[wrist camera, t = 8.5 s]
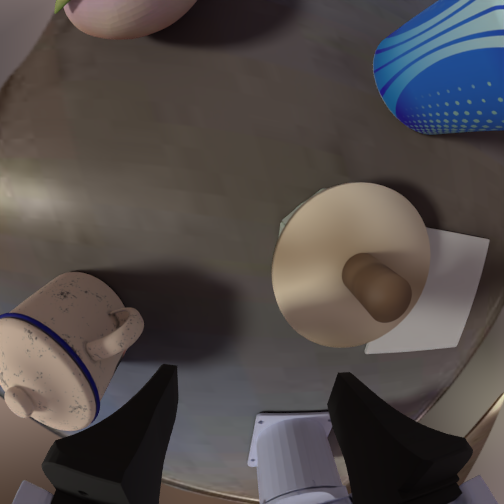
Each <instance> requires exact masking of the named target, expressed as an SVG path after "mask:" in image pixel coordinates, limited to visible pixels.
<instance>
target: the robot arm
mask: <svg viewBox="0 0 504 504" xmlns="http://www.w3.org/2000/svg"><path fill="white" fill-rule="evenodd" d="M177 405H178V378H177V366H175V365H167V364H163V365H161V366H160V368H159V369H158V370H157V372H156V373H155V374H154V375H153V376H152V378H151V379H150V380H149V381H148V382H147V383H146V384H145V385H144V386H143V388H142V389H141V390H140V391H139V392H138V393H137V394H136V395H135V396H133V397H132V398H131V399H130V400H129V401H128V402H127V403H126V404H125V405H123V406H122V407H121V408H120V409H118V410H117V411H116V412H114V413H113V414H112V415H110V416H109V417H107V418H105V419H104V420H102V421H101V422H99V423H97V424H96V425H94V426H92V427H90V428H88V429H85V430H83V431H81V432H79V433H76V434H74V435H71V436H68V437H65V438H62V439H59V440H56V441H55V442H54V444H53V445H52V446H51V448H50V450H49V451H48V453H47V455H46V457H45V459H44V461H43V463H42V469H43V471H44V473H45V475H46V476H47V478H48V479H49V480H50V482H51V483H52V484H53V486H54V487H55V488H56V491H55V494H54V495H53V494H51V493H50V492H48V491H47V490H45V489H43V488H40V487H38V486H36V485H34V484H32V483H30V482H28V481H26V480H23V481H22V483H21V486H20V488H19V490H18V492H17V494H16V496H15V498H14V500H13V503H12V504H159V494H160V486H161V478H162V470H163V463H164V459H165V454H166V451H167V447H168V443H169V440H170V436H171V433H172V429H173V425H174V422H175V418H176V412H177ZM327 405H328V410H329V412H313V413H259V414H258V415H257V416H256V420H255V426H254V431H253V436H252V442H251V447H250V452H249V457H248V466H251V467H257V477H258V489H259V500H260V504H498V503H497V501H496V500H495V498H494V496H493V495H492V493H491V491H490V490H489V488H488V487H487V485H486V483H485V482H484V480H483V479H482V477H481V476H480V475H478V476H476V477H474V478H472V479H470V480H468V481H466V482H465V483H463V484H461V485H460V486H458V484H457V483H456V482H458V481H459V477H458V475H457V473H458V472H459V471H460V470H461V469H462V468H463V467H464V465H465V464H466V463H467V462H468V460H469V459H470V458H471V456H472V453H473V449H472V448H471V446H470V445H469V444H468V442H467V441H466V439H465V438H462V437H458V436H454V435H449V434H446V433H443V432H440V431H437V430H434V429H431V428H429V427H427V426H424V425H422V424H420V423H418V422H416V421H414V420H412V419H410V418H409V417H407V416H405V415H403V414H402V413H400V412H399V411H397V410H396V409H394V408H393V407H391V406H390V405H389V404H387V403H386V402H385V401H383V400H382V399H381V398H380V397H378V396H377V395H376V394H375V393H374V392H372V391H371V390H370V389H369V388H368V387H367V386H365V385H364V384H363V383H362V382H361V381H360V380H359V379H357V378H356V377H355V376H354V375H353V374H351V373H350V372H346V373H338V374H337V377H336V380H335V383H334V386H333V389H332V392H331V395H330V398H329V401H328V404H327ZM332 426H333V429H334V432H335V435H336V437H337V440H338V443H339V446H340V448H341V451H342V454H343V456H344V460H345V463H346V467H347V471H348V476H349V481H350V486H351V492H352V493H351V494H349V495H348V492H347V489H346V486H342V482H341V479H340V476H339V473H338V470H337V467H336V463H335V460H334V457H333V454H332V451H331V448H330V444H329V441H328V438H327V437H328V435H329V433H330V431H331V428H332Z"/></svg>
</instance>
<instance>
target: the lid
mask: <svg viewBox="0 0 504 504" xmlns="http://www.w3.org/2000/svg"><path fill="white" fill-rule="evenodd" d="M429 267H430V242H429V237H428V233H427V230H426V227H425V224H424V222H423V220H422V218H421V216H420V215H419V213H418V211H417V210H416V209H415V207H414V206H413V205H412V204H411V203H410V202H409V201H408V200H407V199H406V198H405V197H403V196H402V195H401V194H399V193H398V192H396V191H394V190H392V189H390V188H387V187H385V186H382V185H378V184H373V183H365V182H349V183H343V184H338V185H335V186H332V187H329V188H327V189H324V190H323V191H321V192H319V193H317V194H315V195H314V196H312V197H311V198H310V199H308V200H307V201H306V202H304V203H303V204H302V205H301V206H300V207H299V208H298V209H297V210H296V211H295V213H294V214H293V215H292V216H291V217H290V219H289V220H288V222H287V223H286V225H285V227H284V228H283V230H282V232H281V234H280V236H279V238H278V241H277V244H276V247H275V250H274V254H273V260H272V284H273V289H274V293H275V297H276V300H277V303H278V306H279V308H280V310H281V312H282V314H283V316H284V317H285V319H286V321H287V322H288V323H289V324H290V325H291V327H292V328H293V329H295V330H296V331H297V332H298V333H299V334H300V335H302V336H303V337H305V338H306V339H308V340H310V341H312V342H315V343H317V344H321V345H324V346H329V347H341V348H344V347H354V346H358V345H363V344H366V343H369V342H371V341H374V340H376V339H378V338H380V337H382V336H383V335H385V334H387V333H388V332H390V331H391V330H392V329H394V328H395V327H396V326H397V325H398V324H400V323H401V322H402V321H403V320H404V319H405V318H406V316H407V315H408V314H409V313H410V312H411V310H412V309H413V307H414V306H415V304H416V303H417V301H418V299H419V298H420V296H421V294H422V291H423V289H424V287H425V284H426V281H427V277H428V273H429Z"/></svg>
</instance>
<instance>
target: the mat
mask: <svg viewBox="0 0 504 504" xmlns="http://www.w3.org/2000/svg"><path fill="white" fill-rule="evenodd" d="M426 230H427V233H428V237H429V242H430V267H429V273H428V277H427V281H426V284H425V287H424V289H423V291H422V294H421V296H420V298H419V299H418V301H417V303H416V304H415V306H414V307H413V309H412V310H411V312H410V313H409V314H408V315H407V316H406V318H405V319H404V320H403V321H402V322H401V323H400V324H398V325H397V326H396V327H395V328H394V329H392V330H391V331H390V332H388V333H387V334H385V335H383V336H382V337H380V338H378V339H376V340H374V341H371V342H369V343H367V345H366V348H365V351H364V352H365V353H366V354H375V353H393V352H407V351H419V350H430V349H440V348H449V347H456V346H457V344H458V341H459V339H460V336H461V334H462V331H463V329H464V326H465V323H466V321H467V318H468V315H469V312H470V309H471V306H472V303H473V300H474V297H475V294H476V291H477V288H478V284H479V281H480V277H481V274H482V270H483V266H484V262H485V258H486V254H487V250H488V245H489V241H490V240H489V239H486V238H481V237H476V236H471V235H466V234H460V233H455V232H450V231H445V230H439V229H433V228H428V227H426Z"/></svg>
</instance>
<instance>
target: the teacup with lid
mask: <svg viewBox="0 0 504 504" xmlns="http://www.w3.org/2000/svg"><path fill="white" fill-rule="evenodd" d="M143 328H144V321H143V319H142V317H141V315H140V313H139V312H138V311H137V310H136V309H135V308H131V307H127V308H125V306H124V305H123V303H122V301H121V300H120V298H119V297H118V296H117V295H116V293H115V292H114V291H113V290H112V289H111V288H110V287H109V286H108V285H106V284H105V283H104V282H102V281H101V280H99V279H98V278H96V277H94V276H92V275H89V274H86V273H81V272H68V273H64V274H62V275H60V276H58V277H56V278H55V279H53V280H52V281H51V282H49V283H48V284H47V285H45V286H44V287H42V288H41V289H40V290H38V291H37V292H36V293H34V294H33V295H32V296H30V297H29V298H28V299H26V300H25V301H24V302H22V303H21V304H20V305H18V306H17V307H16V308H15V309H13V310H12V311H11V312H10V313H5V314H2V315H0V385H1V387H2V388H3V390H4V391H5V402H6V403H7V405H8V407H9V408H10V409H11V410H12V411H13V412H14V413H15V414H17V415H18V416H19V417H22V418H28V417H30V416H31V417H33V418H34V419H36V420H37V421H39V422H41V423H43V424H45V425H47V426H50V427H52V428H56V429H59V430H65V431H75V430H80V429H83V428H85V427H87V426H88V425H89V424H91V423H92V422H93V421H94V420H95V419H96V417H97V416H98V413H99V410H100V401H101V399H102V397H103V395H104V393H105V391H106V389H107V387H108V385H109V383H110V381H111V379H112V377H113V375H114V373H115V371H116V369H117V367H118V365H119V364H120V362H121V360H122V358H123V356H124V354H125V352H126V350H127V348H128V347H130V346H131V345H132V344H133V343H134V342H135V341H136V340H137V339H138V338H139V337H140V335H141V333H142V331H143Z"/></svg>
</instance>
